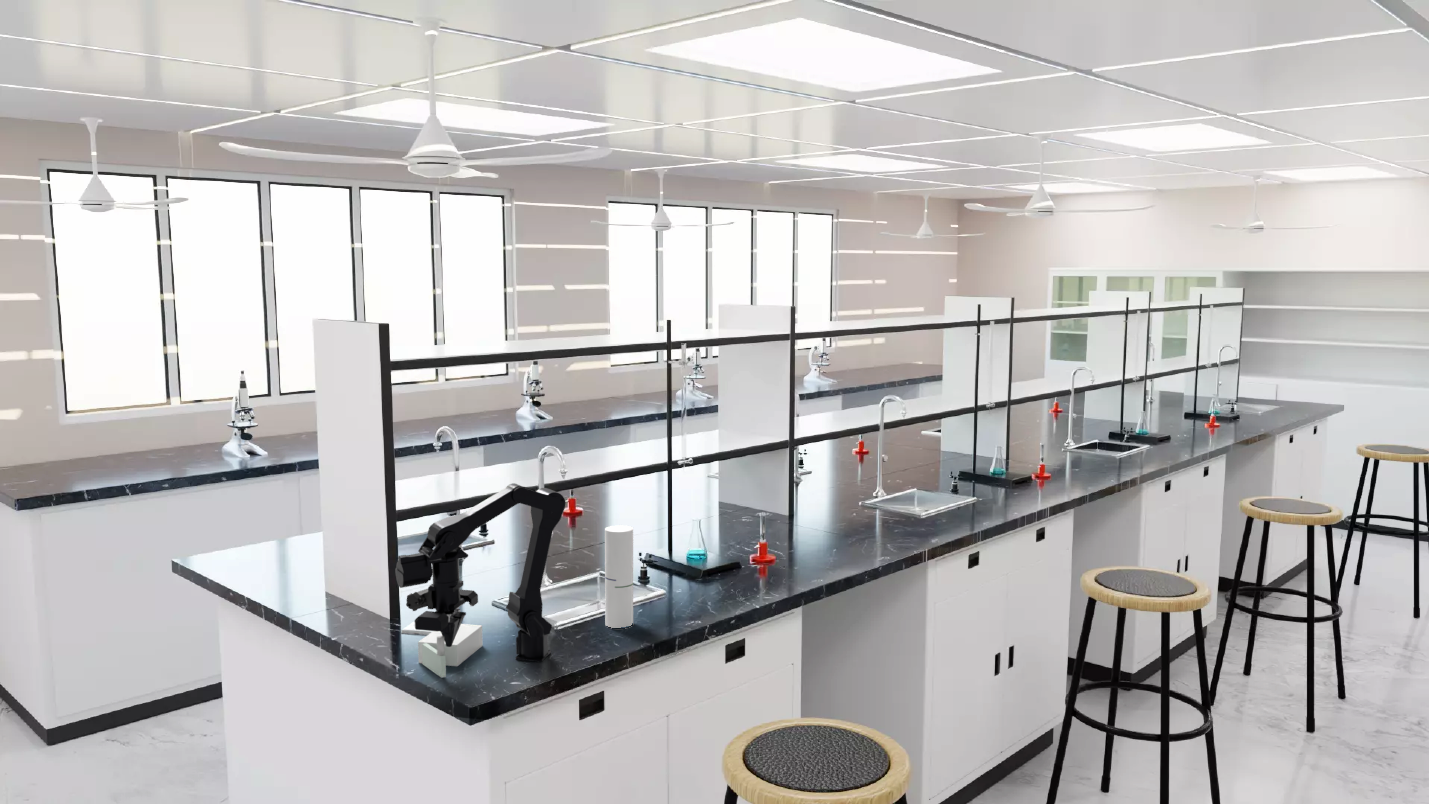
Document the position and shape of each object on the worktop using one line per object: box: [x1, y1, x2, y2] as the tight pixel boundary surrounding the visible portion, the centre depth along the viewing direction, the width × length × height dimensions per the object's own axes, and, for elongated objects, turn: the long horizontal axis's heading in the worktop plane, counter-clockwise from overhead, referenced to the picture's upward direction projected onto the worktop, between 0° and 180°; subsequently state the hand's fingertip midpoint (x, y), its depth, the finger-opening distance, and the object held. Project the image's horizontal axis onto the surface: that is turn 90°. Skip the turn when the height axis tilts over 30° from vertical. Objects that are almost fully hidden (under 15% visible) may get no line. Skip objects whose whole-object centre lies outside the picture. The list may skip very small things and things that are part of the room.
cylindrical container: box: [604, 524, 634, 629], centre depth 256 cm, size 7×7×25 cm
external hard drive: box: [400, 620, 433, 636], centre depth 255 cm, size 2×8×12 cm
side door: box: [422, 636, 447, 679], centre depth 224 cm, size 10×2×9 cm, turn 40°
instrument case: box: [417, 623, 484, 667], centre depth 235 cm, size 10×14×6 cm
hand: (448, 646), depth 223 cm, fingers closed
